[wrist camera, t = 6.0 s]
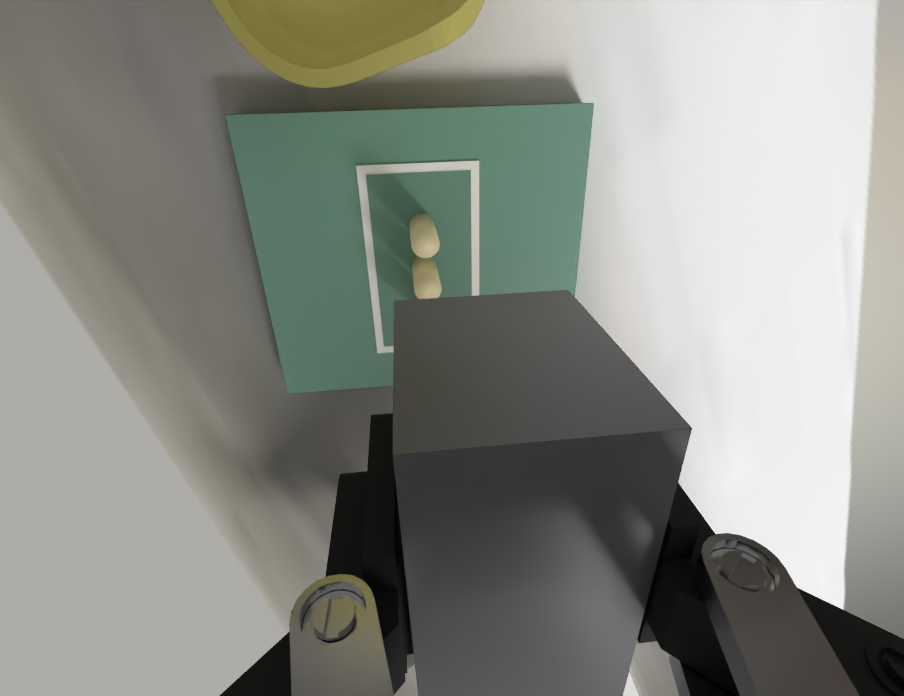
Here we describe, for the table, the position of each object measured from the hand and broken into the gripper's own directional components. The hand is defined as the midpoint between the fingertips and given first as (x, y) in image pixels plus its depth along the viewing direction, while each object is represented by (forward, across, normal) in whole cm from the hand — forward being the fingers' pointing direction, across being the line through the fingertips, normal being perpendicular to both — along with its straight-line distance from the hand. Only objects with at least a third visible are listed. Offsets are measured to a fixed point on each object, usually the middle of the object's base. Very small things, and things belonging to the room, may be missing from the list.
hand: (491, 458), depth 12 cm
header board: (+16, +1, 0) cm, 16 cm away
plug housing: (+2, 0, 0) cm, 2 cm away
